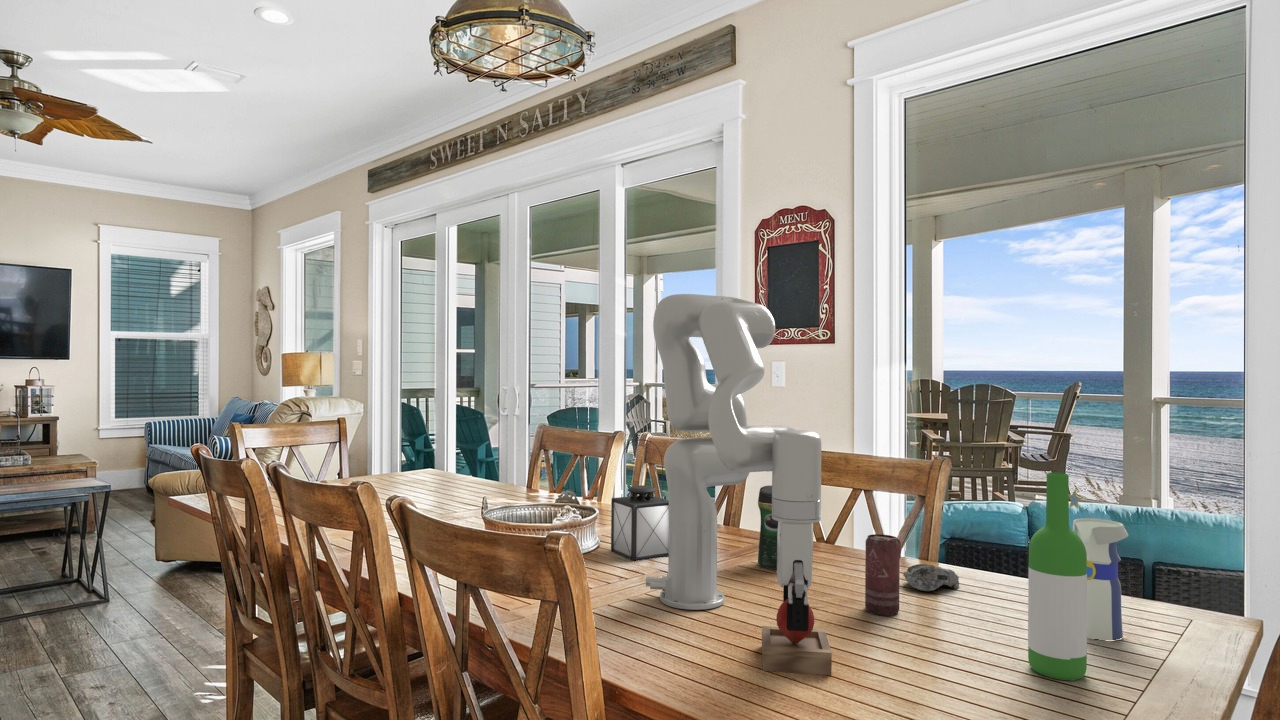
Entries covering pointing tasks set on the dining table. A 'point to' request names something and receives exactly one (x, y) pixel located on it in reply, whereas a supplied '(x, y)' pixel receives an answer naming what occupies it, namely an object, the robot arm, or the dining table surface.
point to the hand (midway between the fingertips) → (795, 619)
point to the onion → (782, 624)
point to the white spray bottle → (1101, 574)
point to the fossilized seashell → (930, 577)
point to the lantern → (640, 523)
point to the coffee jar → (767, 530)
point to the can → (882, 574)
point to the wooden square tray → (796, 652)
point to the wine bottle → (1057, 590)
